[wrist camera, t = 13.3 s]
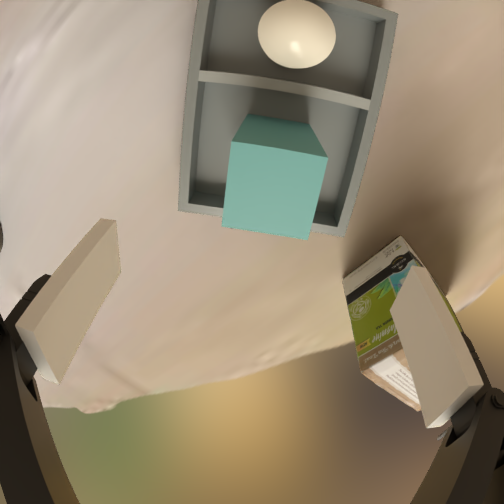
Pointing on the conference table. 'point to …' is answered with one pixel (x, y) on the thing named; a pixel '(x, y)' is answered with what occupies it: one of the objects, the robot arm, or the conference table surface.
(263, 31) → the cream rounded capsule
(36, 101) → the conference table surface
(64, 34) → the conference table surface
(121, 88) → the conference table surface
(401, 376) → the tea box
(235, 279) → the conference table surface
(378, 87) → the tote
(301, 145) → the teal carton
